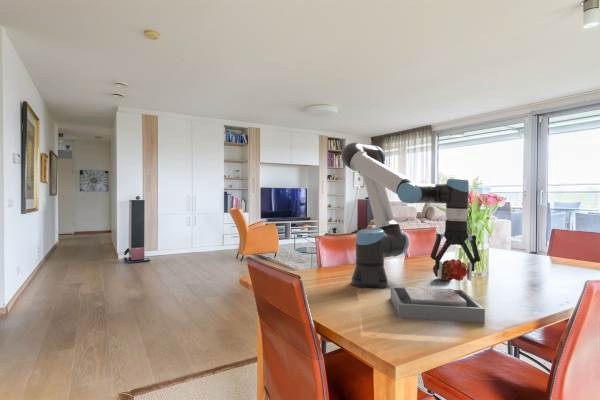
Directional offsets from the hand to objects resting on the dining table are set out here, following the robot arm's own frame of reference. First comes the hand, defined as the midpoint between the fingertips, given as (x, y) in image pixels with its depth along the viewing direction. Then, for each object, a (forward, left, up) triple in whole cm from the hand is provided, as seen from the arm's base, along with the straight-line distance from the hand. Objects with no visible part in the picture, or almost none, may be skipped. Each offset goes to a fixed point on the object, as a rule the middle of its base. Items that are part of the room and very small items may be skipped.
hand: (454, 278), depth 127 cm
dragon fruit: (0, 0, 0) cm, 0 cm away
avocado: (+2, +25, -7) cm, 26 cm away
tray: (-13, -20, -6) cm, 25 cm away
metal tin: (-13, -20, -5) cm, 25 cm away
